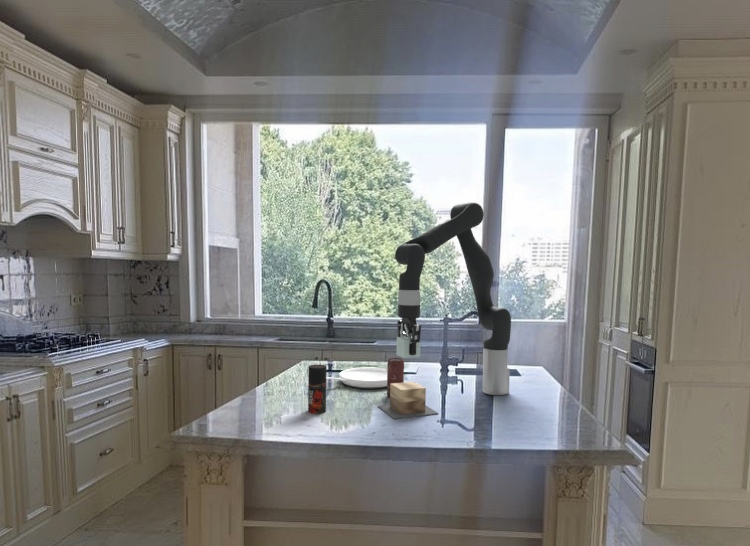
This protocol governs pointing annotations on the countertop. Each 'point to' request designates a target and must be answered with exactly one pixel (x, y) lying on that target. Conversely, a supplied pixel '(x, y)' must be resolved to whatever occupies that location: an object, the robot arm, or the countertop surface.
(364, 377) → the pan
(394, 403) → the block bottom
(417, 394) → the block top
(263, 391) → the countertop surface
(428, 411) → the mat
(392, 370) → the can
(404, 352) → the cube
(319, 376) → the deodorant
